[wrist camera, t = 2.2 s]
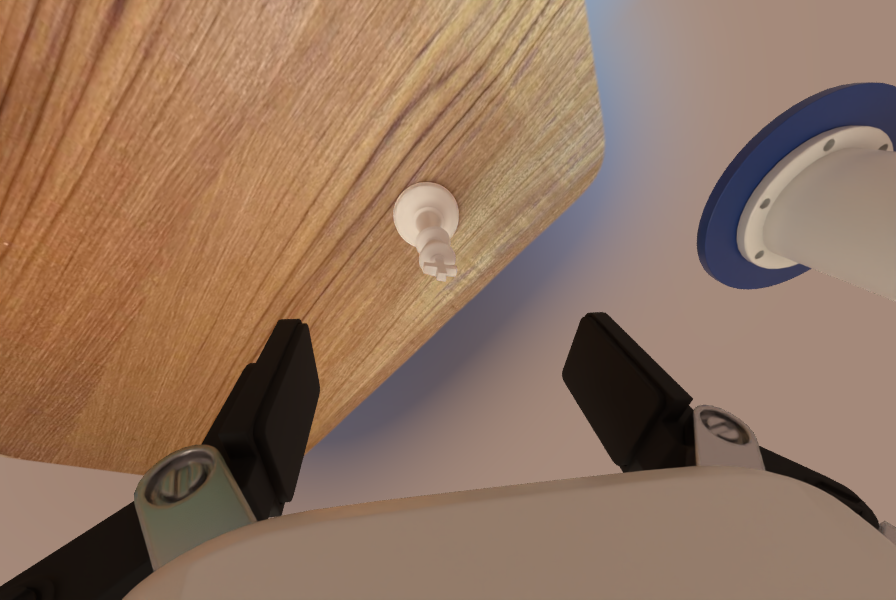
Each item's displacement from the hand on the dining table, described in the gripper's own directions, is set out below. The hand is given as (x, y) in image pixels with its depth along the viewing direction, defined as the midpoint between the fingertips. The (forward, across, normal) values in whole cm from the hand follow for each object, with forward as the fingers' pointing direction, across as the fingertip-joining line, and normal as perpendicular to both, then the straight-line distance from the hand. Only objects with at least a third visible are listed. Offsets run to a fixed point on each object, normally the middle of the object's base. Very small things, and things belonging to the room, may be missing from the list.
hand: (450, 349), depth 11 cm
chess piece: (+16, 0, 0) cm, 16 cm away
